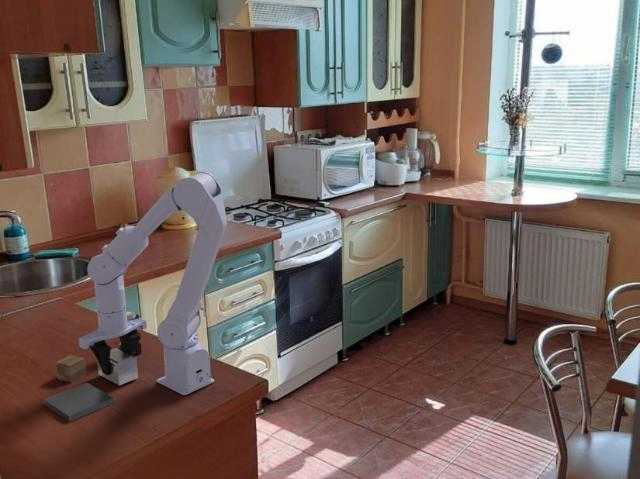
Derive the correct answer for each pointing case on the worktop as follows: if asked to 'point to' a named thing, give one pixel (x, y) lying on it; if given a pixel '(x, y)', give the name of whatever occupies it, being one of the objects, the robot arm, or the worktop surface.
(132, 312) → the push button
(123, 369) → the block
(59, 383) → the worktop surface
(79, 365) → the tan cube
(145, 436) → the worktop surface
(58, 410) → the stand
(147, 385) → the worktop surface
